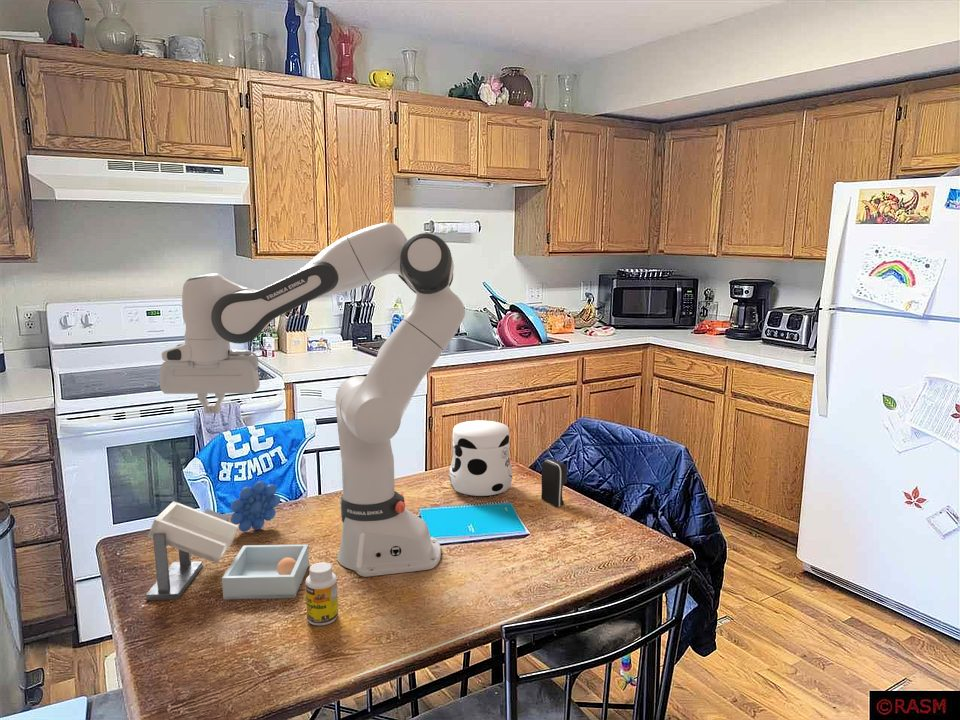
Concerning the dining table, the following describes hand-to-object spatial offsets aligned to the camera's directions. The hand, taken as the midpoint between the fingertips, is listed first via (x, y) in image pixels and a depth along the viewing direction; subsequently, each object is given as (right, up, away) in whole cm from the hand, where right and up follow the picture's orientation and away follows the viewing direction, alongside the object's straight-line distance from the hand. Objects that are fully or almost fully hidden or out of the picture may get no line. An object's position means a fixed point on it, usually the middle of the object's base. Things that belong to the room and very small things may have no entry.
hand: (212, 412), depth 144 cm
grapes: (+4, -29, +15) cm, 33 cm away
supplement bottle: (+29, -36, -22) cm, 52 cm away
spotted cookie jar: (+58, -25, +39) cm, 74 cm away
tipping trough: (0, -24, -8) cm, 25 cm away
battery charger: (+78, -26, +31) cm, 88 cm away
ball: (+19, -31, -10) cm, 37 cm away
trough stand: (-3, -34, -10) cm, 35 cm away
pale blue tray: (+15, -33, -9) cm, 38 cm away
